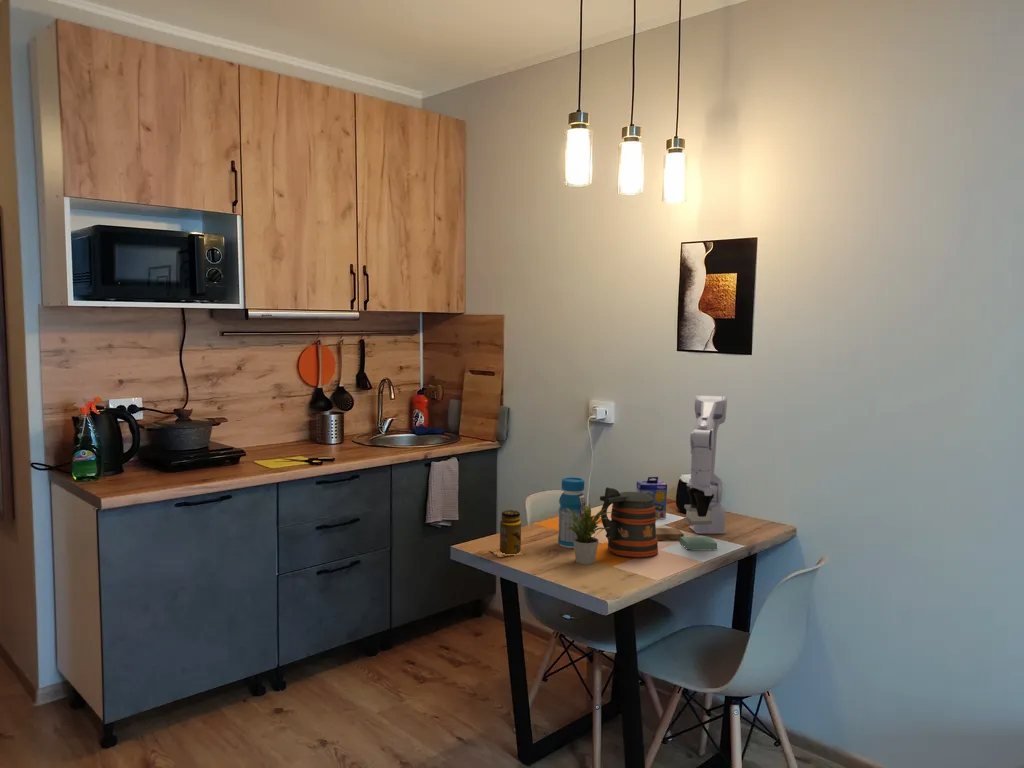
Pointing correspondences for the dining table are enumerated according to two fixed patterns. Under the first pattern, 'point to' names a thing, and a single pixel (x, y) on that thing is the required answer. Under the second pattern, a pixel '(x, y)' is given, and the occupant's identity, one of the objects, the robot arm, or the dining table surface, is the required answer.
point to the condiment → (510, 532)
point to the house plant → (586, 535)
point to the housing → (696, 515)
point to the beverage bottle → (574, 502)
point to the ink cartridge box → (655, 494)
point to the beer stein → (630, 523)
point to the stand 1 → (668, 534)
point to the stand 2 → (698, 542)
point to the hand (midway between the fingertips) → (699, 514)
